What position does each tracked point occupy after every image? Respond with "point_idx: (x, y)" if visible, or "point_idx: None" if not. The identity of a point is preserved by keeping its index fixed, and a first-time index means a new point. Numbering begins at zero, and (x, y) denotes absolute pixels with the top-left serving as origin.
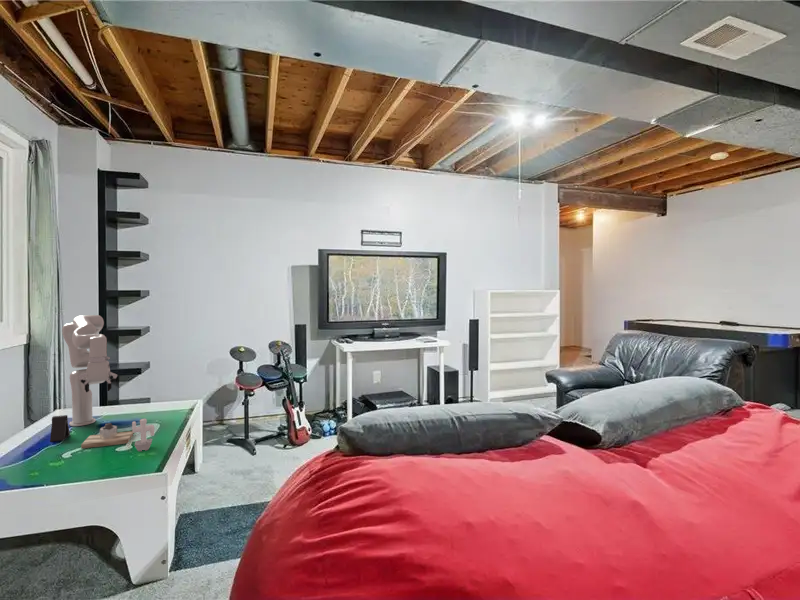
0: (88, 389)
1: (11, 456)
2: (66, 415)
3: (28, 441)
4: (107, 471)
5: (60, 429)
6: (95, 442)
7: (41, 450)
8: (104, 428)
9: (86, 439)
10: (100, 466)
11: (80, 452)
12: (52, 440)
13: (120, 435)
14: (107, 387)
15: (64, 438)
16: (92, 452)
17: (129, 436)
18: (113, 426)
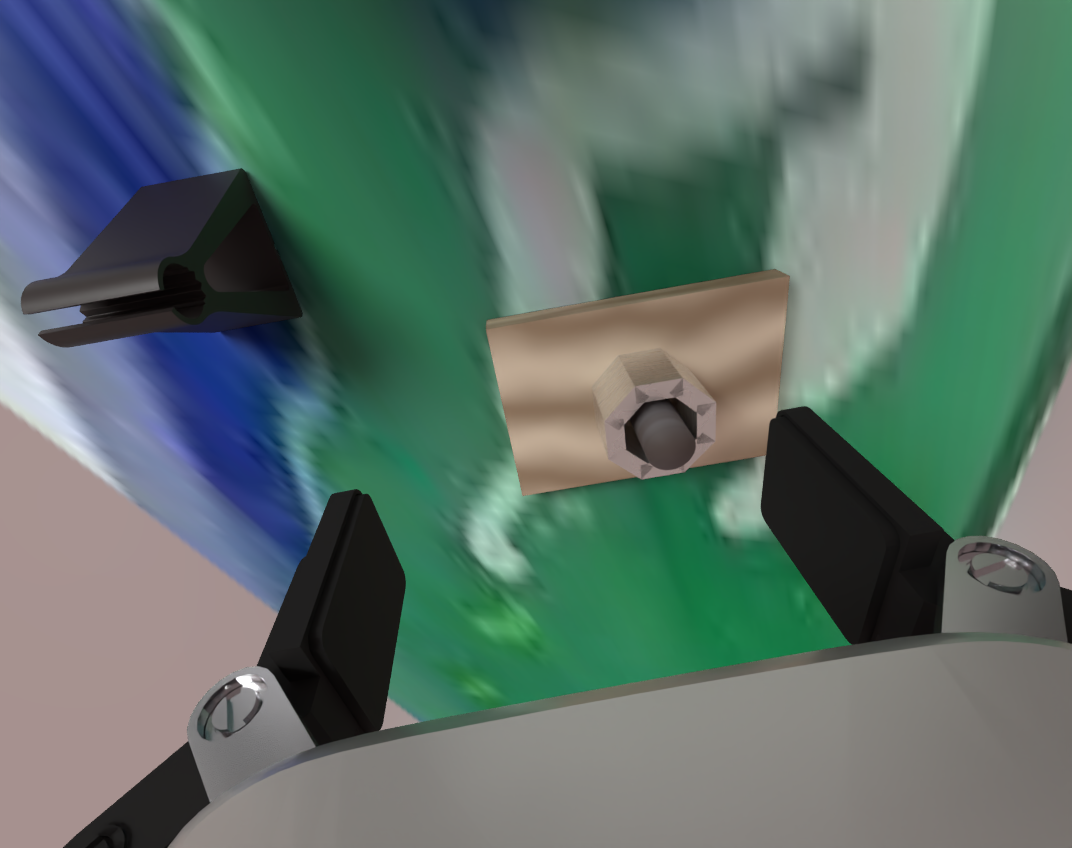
0: (376, 558)
1: (203, 536)
2: (159, 289)
3: (22, 290)
4: None
5: (224, 319)
6: (593, 477)
7: (300, 478)
8: (626, 417)
9: (508, 415)
10: (697, 662)
11: (546, 531)
12: (228, 329)
13: (712, 371)
14: (804, 576)
15: (293, 304)
16: (609, 538)
17: (775, 401)
18: (690, 404)
